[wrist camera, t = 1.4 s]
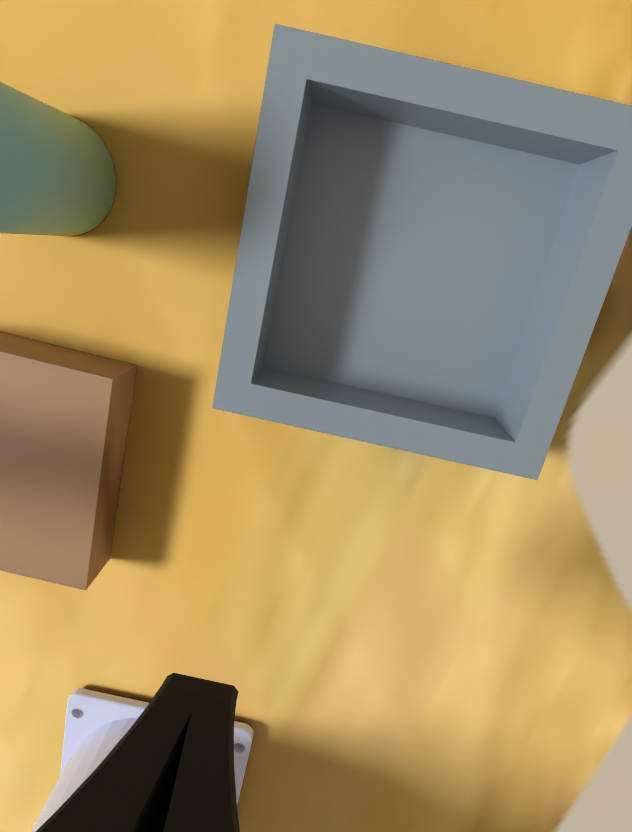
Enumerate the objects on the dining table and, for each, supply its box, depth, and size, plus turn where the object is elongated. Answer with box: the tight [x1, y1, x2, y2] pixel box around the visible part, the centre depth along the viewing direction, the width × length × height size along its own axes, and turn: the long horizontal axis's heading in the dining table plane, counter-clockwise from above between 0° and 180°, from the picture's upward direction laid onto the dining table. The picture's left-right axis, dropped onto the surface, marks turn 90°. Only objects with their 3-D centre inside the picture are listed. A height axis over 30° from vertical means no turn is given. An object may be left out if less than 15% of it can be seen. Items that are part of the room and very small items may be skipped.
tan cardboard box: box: [0, 332, 137, 590], centre depth 19 cm, size 8×6×2 cm
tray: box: [212, 24, 632, 480], centre depth 16 cm, size 10×10×3 cm
